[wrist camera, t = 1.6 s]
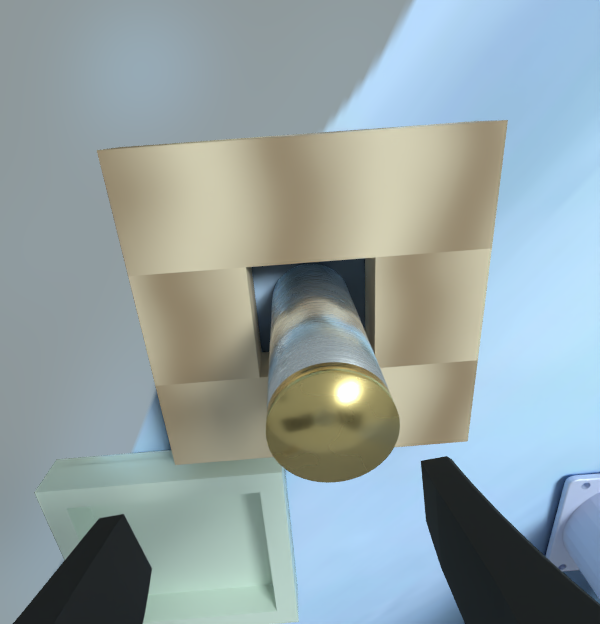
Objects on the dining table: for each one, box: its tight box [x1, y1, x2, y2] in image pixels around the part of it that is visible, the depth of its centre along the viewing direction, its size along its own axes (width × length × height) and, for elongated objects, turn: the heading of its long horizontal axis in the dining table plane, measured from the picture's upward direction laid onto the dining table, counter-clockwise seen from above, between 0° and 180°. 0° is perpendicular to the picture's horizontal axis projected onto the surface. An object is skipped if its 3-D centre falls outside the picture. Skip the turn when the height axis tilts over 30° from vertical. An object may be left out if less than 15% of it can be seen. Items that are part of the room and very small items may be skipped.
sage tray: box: [34, 450, 299, 624], centre depth 24 cm, size 12×12×2 cm
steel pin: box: [266, 263, 400, 482], centre depth 15 cm, size 4×4×9 cm
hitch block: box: [97, 120, 508, 465], centre depth 18 cm, size 14×14×2 cm
